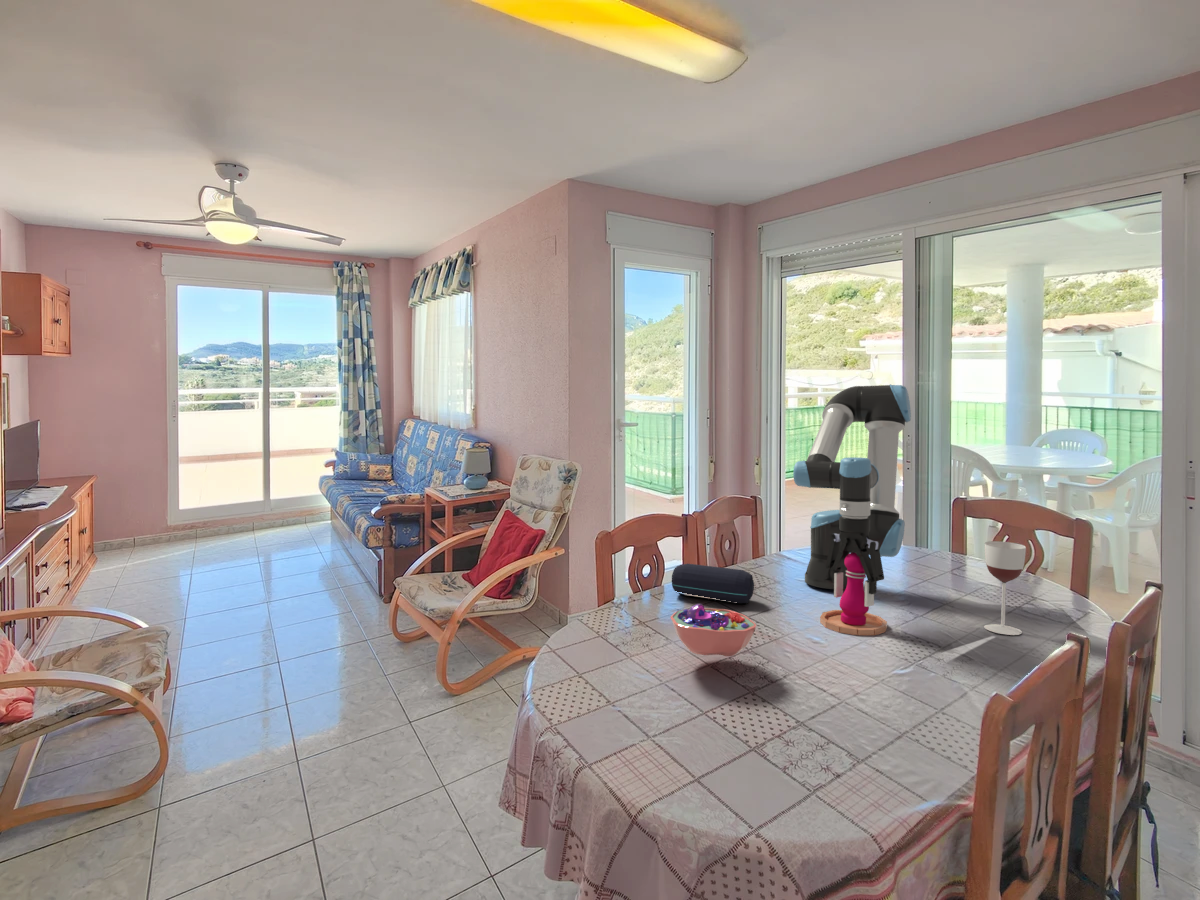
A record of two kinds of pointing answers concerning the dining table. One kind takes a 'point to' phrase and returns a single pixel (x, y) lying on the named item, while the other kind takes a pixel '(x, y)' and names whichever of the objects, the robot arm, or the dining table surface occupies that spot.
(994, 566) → the wineglass
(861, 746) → the dining table surface
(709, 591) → the portable speaker
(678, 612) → the cell model
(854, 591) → the pepper mill
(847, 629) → the terracotta saucer
